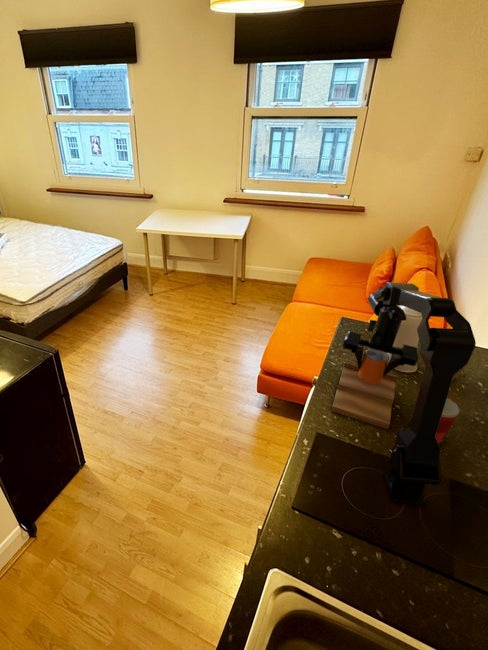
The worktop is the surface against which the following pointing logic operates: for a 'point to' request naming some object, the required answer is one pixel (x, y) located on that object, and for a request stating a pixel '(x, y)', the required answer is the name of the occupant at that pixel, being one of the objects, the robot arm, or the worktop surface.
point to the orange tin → (373, 366)
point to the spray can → (407, 335)
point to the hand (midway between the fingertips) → (371, 371)
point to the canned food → (447, 419)
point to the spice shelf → (365, 397)
